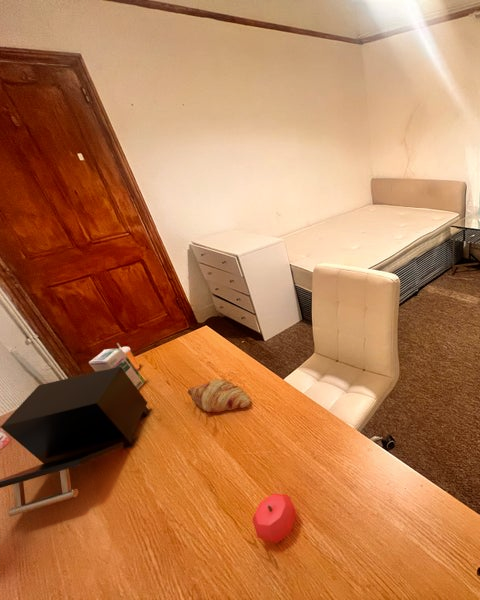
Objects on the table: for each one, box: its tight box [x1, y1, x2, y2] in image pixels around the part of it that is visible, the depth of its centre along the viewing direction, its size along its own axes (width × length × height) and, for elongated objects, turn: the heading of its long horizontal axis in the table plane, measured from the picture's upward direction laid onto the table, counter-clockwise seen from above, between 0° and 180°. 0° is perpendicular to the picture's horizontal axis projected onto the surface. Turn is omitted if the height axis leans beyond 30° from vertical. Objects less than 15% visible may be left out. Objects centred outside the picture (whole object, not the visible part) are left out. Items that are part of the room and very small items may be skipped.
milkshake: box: [116, 342, 141, 371], centre depth 104 cm, size 4×5×10 cm
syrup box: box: [88, 348, 146, 390], centre depth 95 cm, size 6×6×14 cm
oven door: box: [0, 442, 124, 517], centre depth 69 cm, size 8×17×14 cm
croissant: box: [187, 378, 251, 413], centre depth 90 cm, size 21×10×8 cm, turn 77°
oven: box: [0, 366, 150, 464], centre depth 79 cm, size 13×18×17 cm
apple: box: [252, 493, 297, 544], centre depth 60 cm, size 8×8×8 cm
